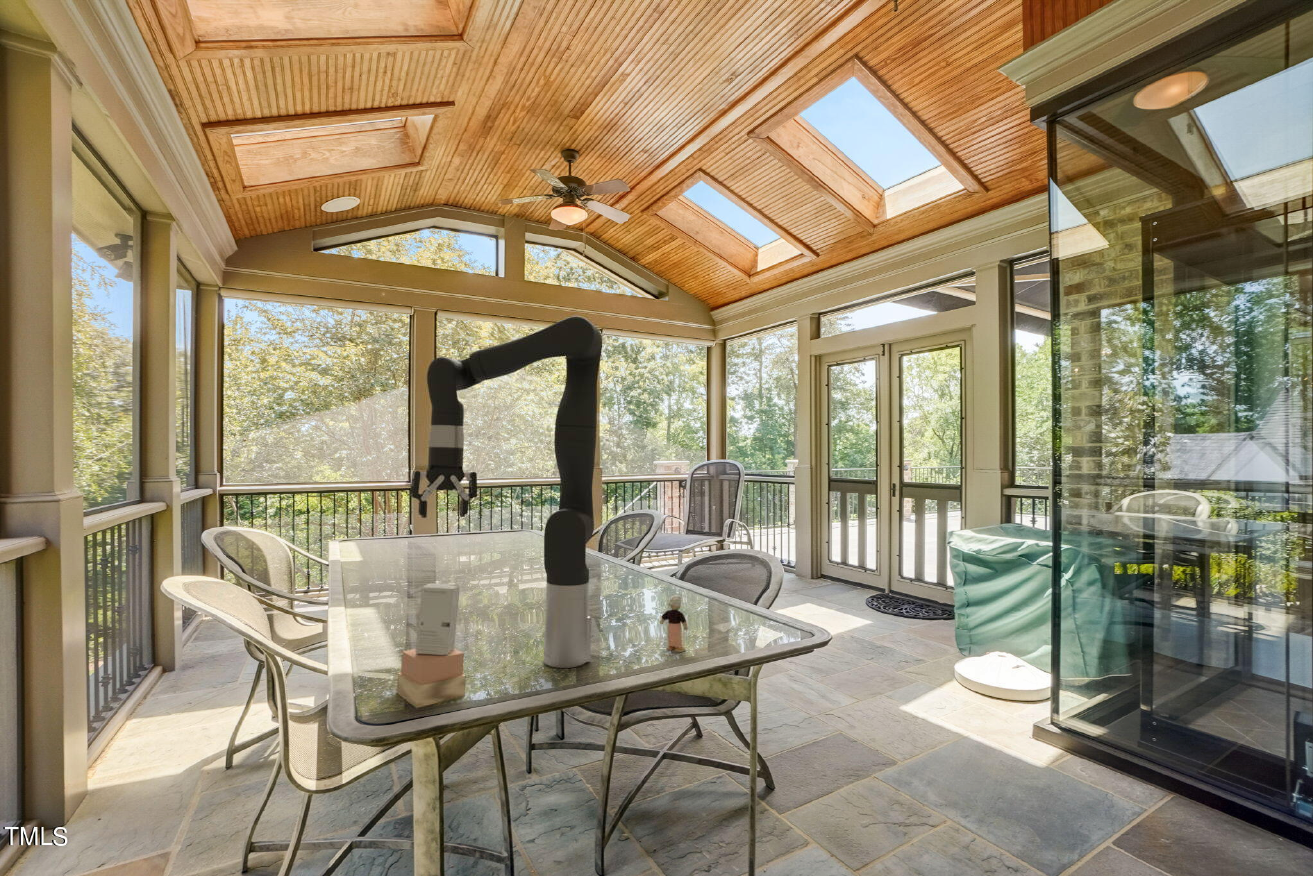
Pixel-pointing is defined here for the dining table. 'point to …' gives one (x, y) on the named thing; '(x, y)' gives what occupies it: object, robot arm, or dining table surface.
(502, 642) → the dining table surface
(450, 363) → the robot arm
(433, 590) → the skincare box
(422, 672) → the tower top
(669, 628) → the grandmother figurine
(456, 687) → the tower base
